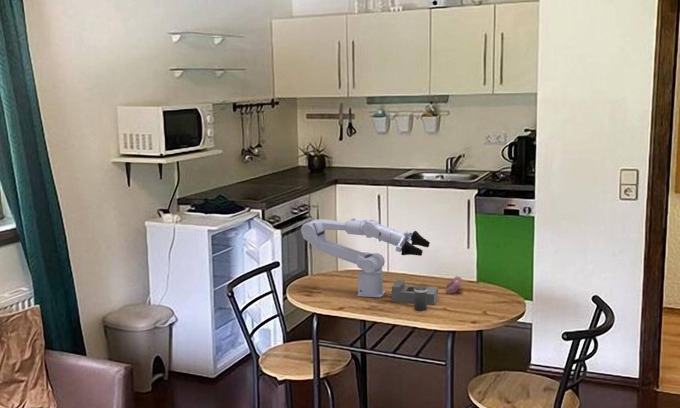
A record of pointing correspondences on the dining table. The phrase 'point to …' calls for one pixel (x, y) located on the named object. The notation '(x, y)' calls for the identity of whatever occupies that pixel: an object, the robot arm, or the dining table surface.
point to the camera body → (411, 293)
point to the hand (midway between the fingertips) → (425, 248)
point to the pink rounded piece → (453, 285)
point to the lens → (420, 298)
